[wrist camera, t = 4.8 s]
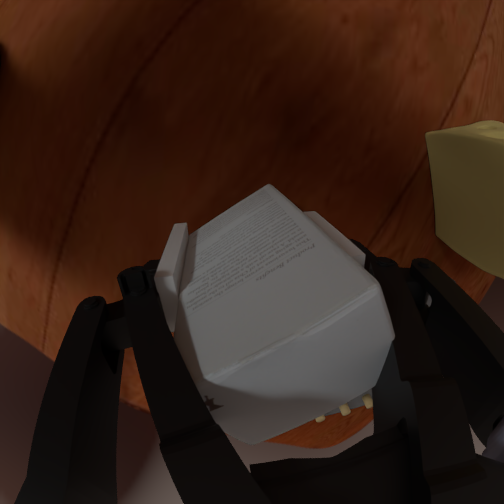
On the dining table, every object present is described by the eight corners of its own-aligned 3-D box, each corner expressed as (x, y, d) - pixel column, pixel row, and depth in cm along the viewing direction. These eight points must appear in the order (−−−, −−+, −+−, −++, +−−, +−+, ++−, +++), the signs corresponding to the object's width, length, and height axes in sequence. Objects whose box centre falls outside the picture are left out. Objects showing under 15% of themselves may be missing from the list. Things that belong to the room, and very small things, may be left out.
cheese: (481, 118, 18) (556, 131, 9) (488, 213, 22) (551, 246, 13) (417, 128, 18) (513, 141, 9) (430, 242, 22) (503, 292, 13)
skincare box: (225, 282, 19) (246, 449, 8) (187, 233, 17) (158, 398, 6) (303, 234, 18) (407, 369, 7) (271, 179, 16) (381, 278, 5)
